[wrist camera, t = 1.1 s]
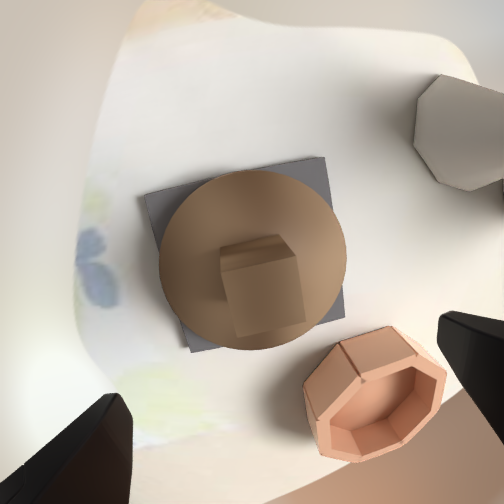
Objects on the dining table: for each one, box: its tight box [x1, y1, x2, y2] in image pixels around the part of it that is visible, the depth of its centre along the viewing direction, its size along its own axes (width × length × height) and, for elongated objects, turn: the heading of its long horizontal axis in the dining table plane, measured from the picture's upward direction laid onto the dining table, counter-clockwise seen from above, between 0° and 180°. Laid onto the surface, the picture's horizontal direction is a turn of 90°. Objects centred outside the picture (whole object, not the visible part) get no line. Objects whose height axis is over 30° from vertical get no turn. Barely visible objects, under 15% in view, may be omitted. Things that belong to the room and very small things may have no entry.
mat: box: [144, 157, 345, 353], centre depth 17 cm, size 9×9×1 cm
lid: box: [159, 170, 347, 350], centre depth 14 cm, size 9×9×4 cm
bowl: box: [303, 326, 447, 463], centre depth 19 cm, size 9×9×4 cm
